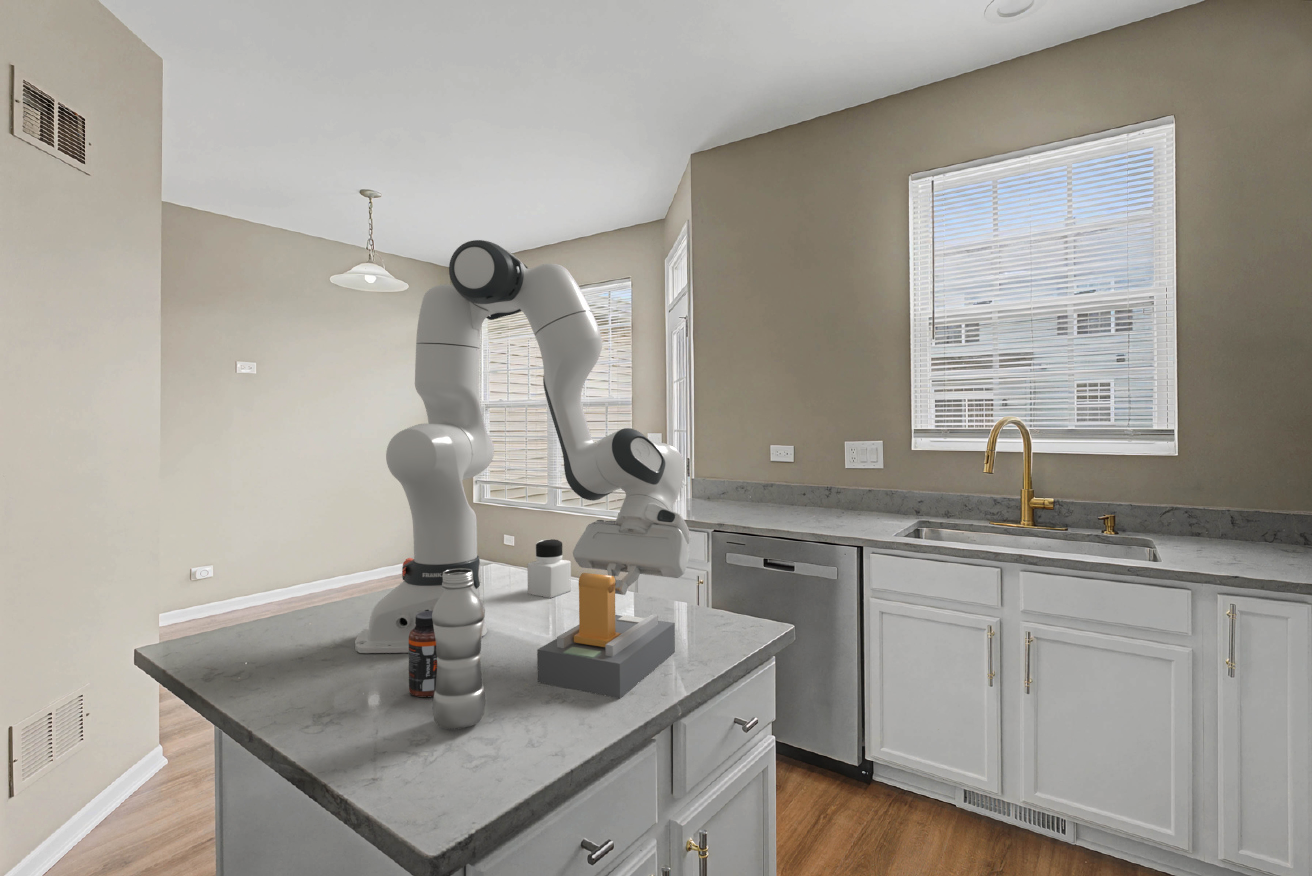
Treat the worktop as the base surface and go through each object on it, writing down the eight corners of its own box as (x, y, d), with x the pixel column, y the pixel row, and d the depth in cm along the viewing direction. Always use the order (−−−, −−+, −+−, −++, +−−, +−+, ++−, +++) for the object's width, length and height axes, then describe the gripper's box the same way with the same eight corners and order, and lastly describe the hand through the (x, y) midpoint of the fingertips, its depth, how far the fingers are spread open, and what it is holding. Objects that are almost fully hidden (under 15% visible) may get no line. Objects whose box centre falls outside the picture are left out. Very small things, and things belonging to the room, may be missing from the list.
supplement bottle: (438, 700, 91) (437, 621, 91) (400, 697, 93) (399, 619, 92) (459, 683, 97) (458, 609, 97) (423, 680, 99) (422, 607, 98)
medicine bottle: (571, 591, 149) (571, 539, 149) (550, 598, 143) (550, 544, 143) (548, 587, 153) (547, 536, 153) (527, 594, 147) (526, 541, 147)
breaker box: (602, 640, 116) (602, 604, 116) (674, 652, 110) (674, 613, 110) (537, 682, 98) (537, 639, 97) (620, 698, 92) (619, 652, 92)
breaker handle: (587, 634, 103) (586, 569, 103) (620, 639, 101) (620, 573, 100) (573, 642, 99) (573, 575, 99) (608, 647, 97) (607, 579, 97)
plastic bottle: (439, 714, 87) (436, 566, 87) (490, 711, 88) (488, 565, 87) (426, 737, 81) (423, 578, 80) (481, 735, 81) (479, 577, 81)
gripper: (584, 508, 116) (553, 575, 108) (690, 516, 107) (666, 588, 99) (596, 529, 120) (568, 595, 112) (699, 538, 112) (677, 609, 103)
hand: (615, 592), depth 105 cm, fingers closed
